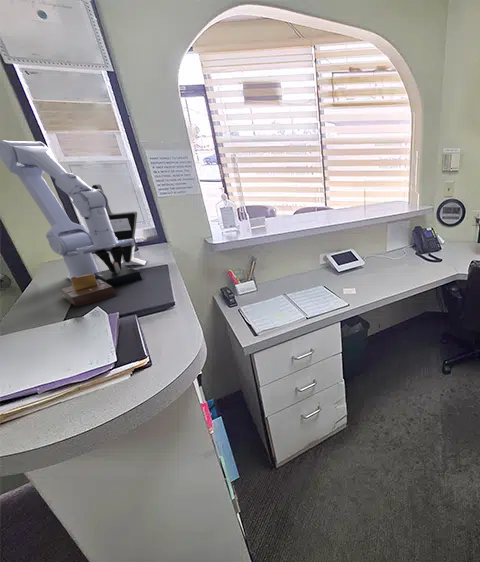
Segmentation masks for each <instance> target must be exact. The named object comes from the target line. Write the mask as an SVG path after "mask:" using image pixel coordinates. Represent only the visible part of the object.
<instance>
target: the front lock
mask: <svg viewBox="0 0 480 562" xmlns="http://www.w3.org/2000/svg"><path fill="white" fill-rule="evenodd" d="M69 281H70V283H71V286H73V287H74V289H75V290H76V291H77V290H80V289H84V288H88V287H92V286H96V285H98V284H97V282H96V278H95V277H94V274H92V273H91V274H87V275H83V276H79V277H71V278H70V279H69Z"/></svg>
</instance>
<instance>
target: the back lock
mask: <svg viewBox="0 0 480 562" xmlns="http://www.w3.org/2000/svg"><path fill="white" fill-rule="evenodd" d="M111 263H112V265H113V267H114V270H115V273H117V274H118V273H121V270H120V268H119V265H118V263H117V262H115V261H114V260H111Z"/></svg>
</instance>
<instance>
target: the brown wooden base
mask: <svg viewBox="0 0 480 562" xmlns="http://www.w3.org/2000/svg"><path fill="white" fill-rule="evenodd" d="M96 282H97V284H98V285H96V286H92V287H88V288H84V289H80V290H77V291H76V290H75V289H74V287H73V285H70V286H69V285H68V286H66V287H62V288H60V292H61V293H62V295H63V297H64V299H65V300H67V302H69V303H70V304H72V305H73V306H74V307H75V308H79V307H83V306H87V305H89V304H92V303H97V302H100V301H102V300H107V299H110V298H113V297H116V296H117V295H116V293H115V289H114V287H112V286H110V285H109V284H107V283H106V282H103V281H101V280H100V279H97V280H96Z"/></svg>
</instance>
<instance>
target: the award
mask: <svg viewBox="0 0 480 562" xmlns="http://www.w3.org/2000/svg"><path fill="white" fill-rule="evenodd" d="M91 188H94V189H98V190H101V191H102V192H103V193H104V190H103V188H102V185H101V184H99V183H98V184H93V185H92V186H91ZM104 194H105V193H104ZM106 211H107V214H108V217H109V220H110V223H111V226H112V229H113V231H114V234H115V237H116V240H117V241H118V240H126V239H134V240H135V238H136V236H135V235H136V228H137V221H138V212H137V211H128V212H127V211H126V212H118V213H113V212H112V211H111V208H110V206H109V204H108V206H107V208H106ZM88 232H89V231H88ZM89 233H90V232H89ZM121 248H123V254H122V258H121V267H122V266H127V265H135V266H145V265H146V263H147V261H146V260H144V259H141V258H136V257H135V249H136V245H129V246H124V247H121Z"/></svg>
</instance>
